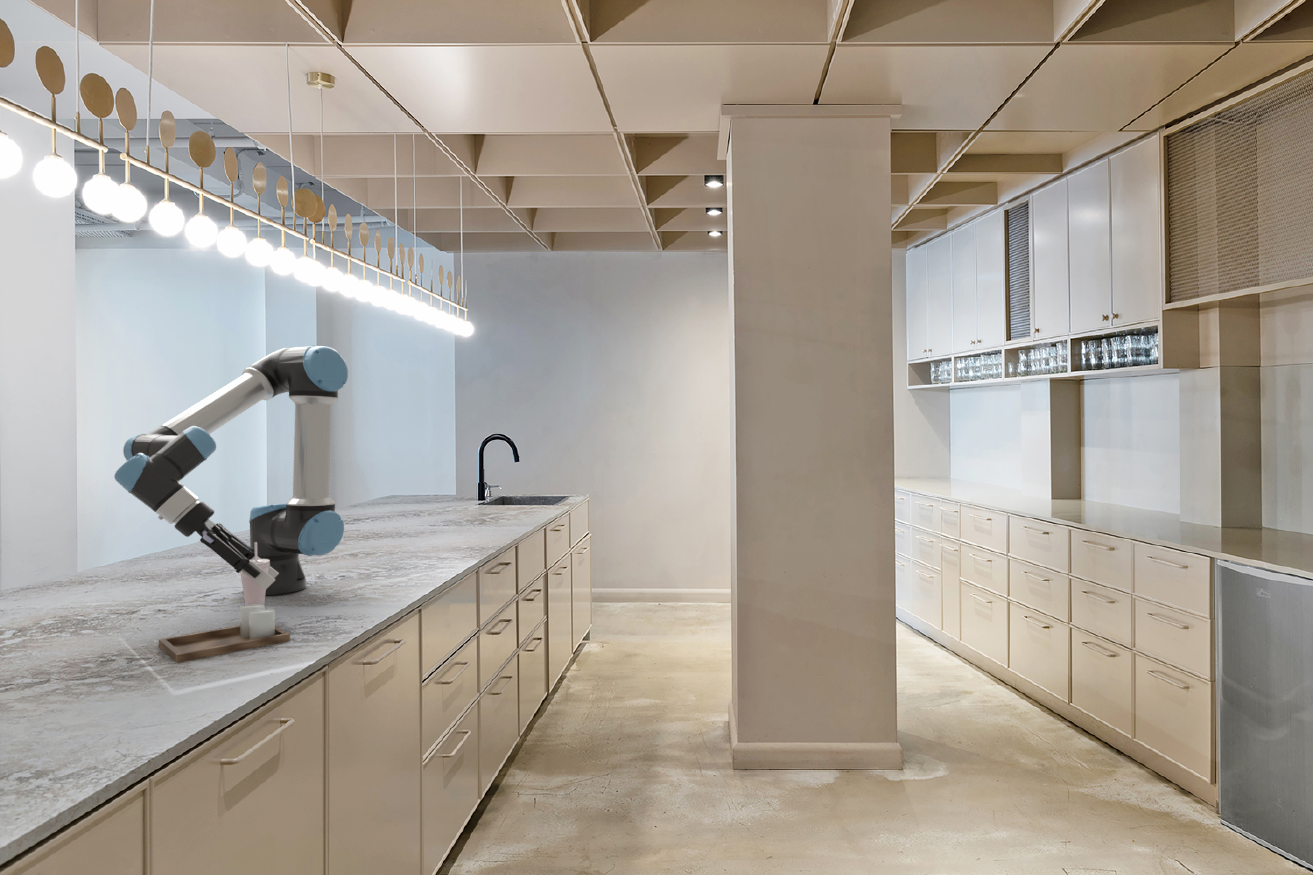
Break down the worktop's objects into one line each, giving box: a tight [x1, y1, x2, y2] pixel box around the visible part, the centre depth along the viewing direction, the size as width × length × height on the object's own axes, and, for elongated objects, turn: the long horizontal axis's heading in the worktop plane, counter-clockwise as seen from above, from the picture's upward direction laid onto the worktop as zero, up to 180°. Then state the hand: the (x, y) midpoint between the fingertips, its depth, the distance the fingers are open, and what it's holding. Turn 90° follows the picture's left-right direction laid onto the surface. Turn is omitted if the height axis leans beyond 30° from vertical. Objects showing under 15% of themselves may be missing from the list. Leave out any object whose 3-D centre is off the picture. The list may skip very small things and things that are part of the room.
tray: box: [158, 624, 291, 663], centre depth 153 cm, size 20×14×2 cm
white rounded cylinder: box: [239, 603, 266, 638], centre depth 159 cm, size 5×5×6 cm
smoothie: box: [239, 542, 270, 605], centre depth 170 cm, size 6×6×14 cm
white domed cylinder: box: [249, 607, 276, 640], centre depth 155 cm, size 5×5×6 cm
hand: (272, 581), depth 171 cm, fingers closed on smoothie, 6 cm apart
